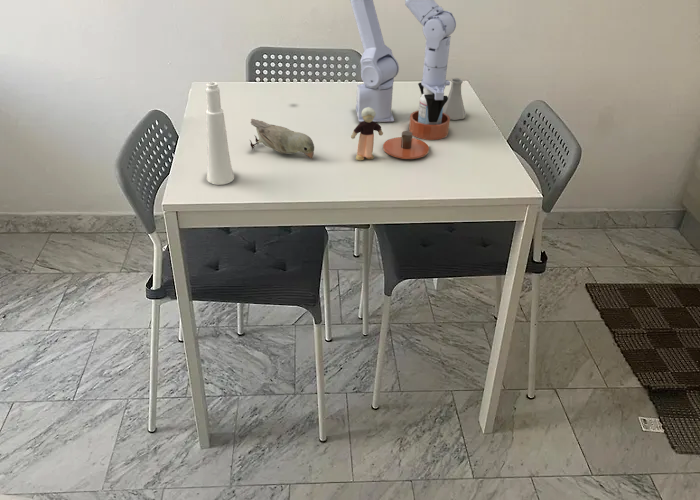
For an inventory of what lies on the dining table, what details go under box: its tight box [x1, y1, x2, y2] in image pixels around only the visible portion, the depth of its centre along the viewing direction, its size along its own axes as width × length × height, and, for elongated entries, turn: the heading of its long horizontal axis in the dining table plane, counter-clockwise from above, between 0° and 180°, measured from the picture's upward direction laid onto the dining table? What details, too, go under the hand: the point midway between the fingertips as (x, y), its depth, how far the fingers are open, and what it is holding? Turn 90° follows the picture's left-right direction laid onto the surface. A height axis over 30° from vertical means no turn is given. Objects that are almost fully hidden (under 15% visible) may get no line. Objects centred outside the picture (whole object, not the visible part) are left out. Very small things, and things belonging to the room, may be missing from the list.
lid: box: [382, 130, 430, 160], centre depth 162 cm, size 11×11×5 cm
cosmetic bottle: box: [205, 81, 235, 186], centre depth 142 cm, size 6×6×22 cm
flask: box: [443, 77, 467, 121], centre depth 179 cm, size 7×7×10 cm
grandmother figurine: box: [350, 107, 384, 161], centre depth 156 cm, size 8×4×13 cm, turn 117°
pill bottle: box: [418, 87, 443, 125], centre depth 169 cm, size 6×6×11 cm
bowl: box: [408, 109, 451, 141], centre depth 172 cm, size 10×10×4 cm
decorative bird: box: [249, 118, 315, 159], centre depth 158 cm, size 5×16×8 cm, turn 72°
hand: (430, 116), depth 170 cm, fingers closed on pill bottle, 6 cm apart
